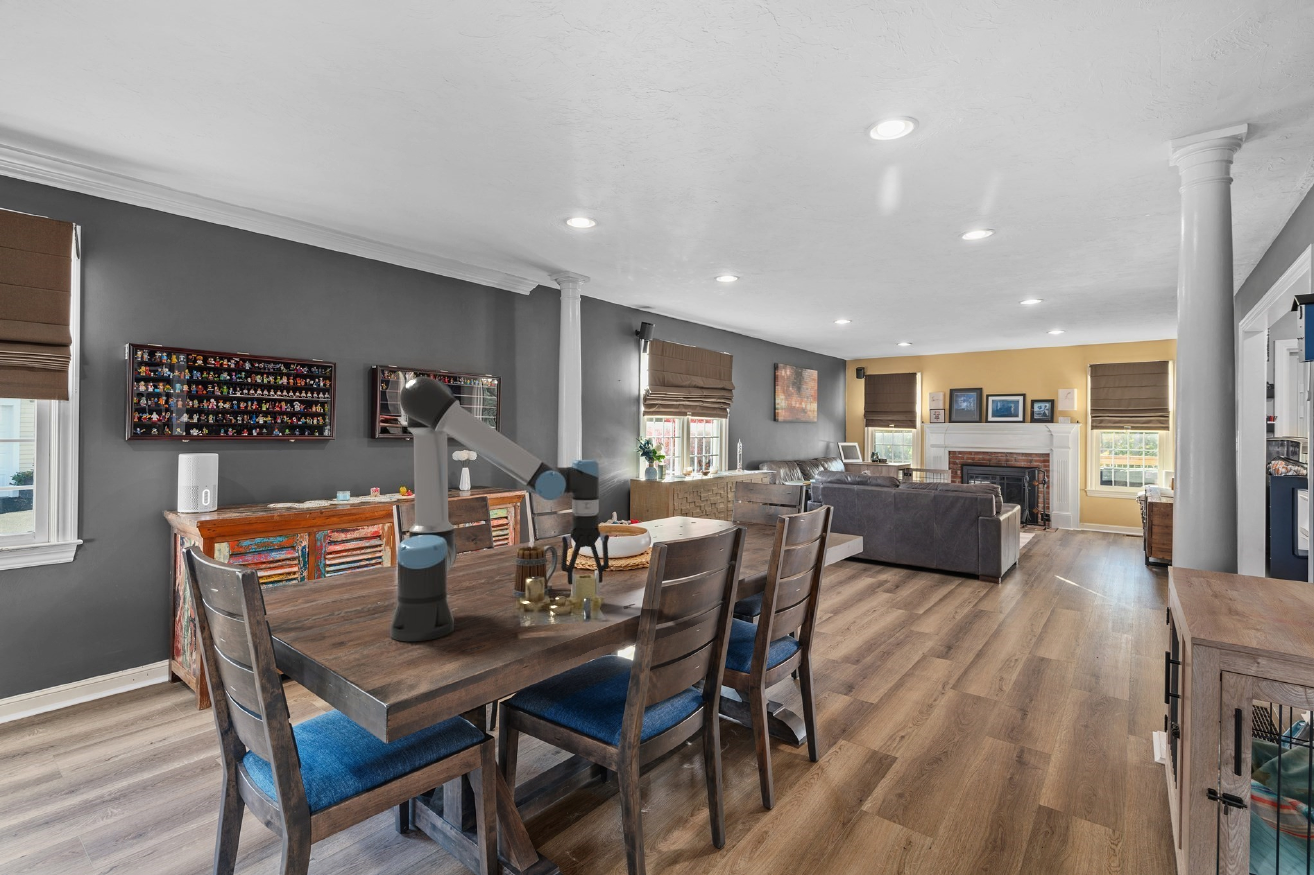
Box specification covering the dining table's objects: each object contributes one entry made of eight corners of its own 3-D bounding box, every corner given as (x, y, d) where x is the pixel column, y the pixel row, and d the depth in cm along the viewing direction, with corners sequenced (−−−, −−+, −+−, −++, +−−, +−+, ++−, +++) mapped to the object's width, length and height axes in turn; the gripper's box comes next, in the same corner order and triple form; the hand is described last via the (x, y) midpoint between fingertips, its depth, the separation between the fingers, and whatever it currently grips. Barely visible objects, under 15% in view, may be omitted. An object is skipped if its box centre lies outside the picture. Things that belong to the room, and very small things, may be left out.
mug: (529, 605, 179) (529, 553, 179) (505, 598, 185) (505, 549, 185) (567, 593, 191) (567, 546, 191) (544, 588, 198) (544, 542, 198)
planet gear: (568, 611, 169) (568, 582, 169) (564, 600, 179) (564, 573, 179) (605, 608, 172) (606, 580, 172) (600, 598, 182) (600, 571, 182)
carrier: (517, 631, 156) (517, 593, 156) (515, 607, 177) (515, 573, 177) (606, 624, 161) (606, 588, 161) (593, 602, 182) (594, 569, 182)
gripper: (552, 516, 169) (552, 600, 169) (620, 514, 174) (620, 596, 174) (550, 513, 176) (550, 593, 177) (615, 511, 181) (615, 589, 181)
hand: (585, 594), depth 175 cm, fingers open, 6 cm apart
